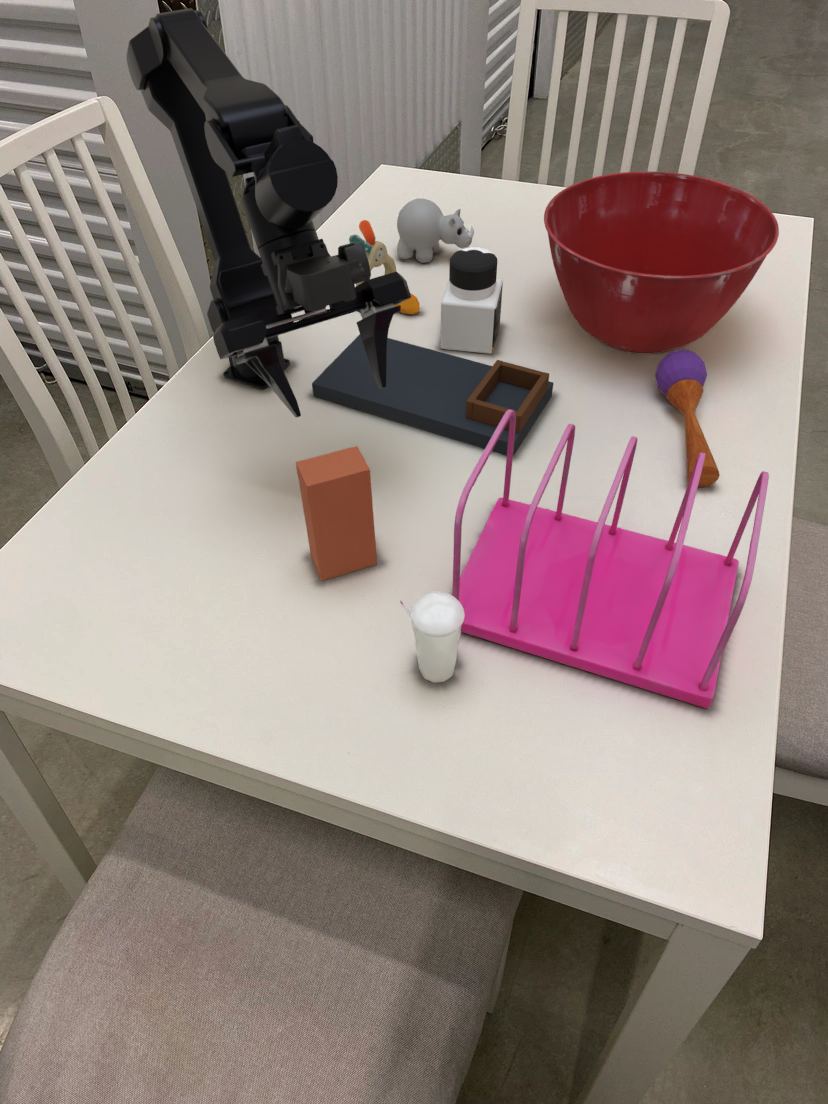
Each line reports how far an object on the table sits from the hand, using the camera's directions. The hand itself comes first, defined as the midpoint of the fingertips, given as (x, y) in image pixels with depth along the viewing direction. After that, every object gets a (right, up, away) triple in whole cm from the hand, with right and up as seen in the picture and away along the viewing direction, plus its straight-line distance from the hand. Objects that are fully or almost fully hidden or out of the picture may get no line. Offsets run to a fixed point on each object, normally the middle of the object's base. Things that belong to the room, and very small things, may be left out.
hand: (341, 402), depth 80 cm
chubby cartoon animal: (+10, +31, +46) cm, 57 cm away
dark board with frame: (+9, +5, +22) cm, 25 cm away
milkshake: (+9, -26, -5) cm, 28 cm away
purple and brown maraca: (+39, 0, +17) cm, 43 cm away
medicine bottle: (+15, +14, +31) cm, 37 cm away
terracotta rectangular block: (0, -16, +4) cm, 16 cm away
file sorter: (+24, -19, 0) cm, 31 cm away
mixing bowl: (+38, +16, +32) cm, 52 cm away
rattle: (+3, +20, +37) cm, 42 cm away
